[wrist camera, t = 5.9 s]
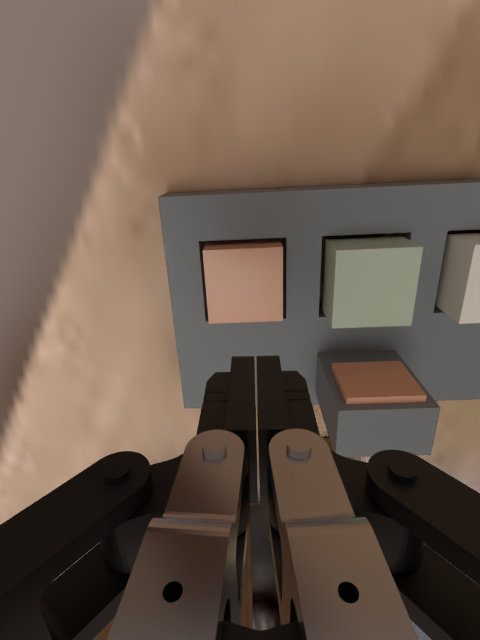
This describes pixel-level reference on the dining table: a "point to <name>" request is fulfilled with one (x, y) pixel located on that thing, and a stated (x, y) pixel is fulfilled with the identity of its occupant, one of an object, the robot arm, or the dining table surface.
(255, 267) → the terracotta button
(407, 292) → the sage button
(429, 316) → the console
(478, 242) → the cream button
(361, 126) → the dining table surface
